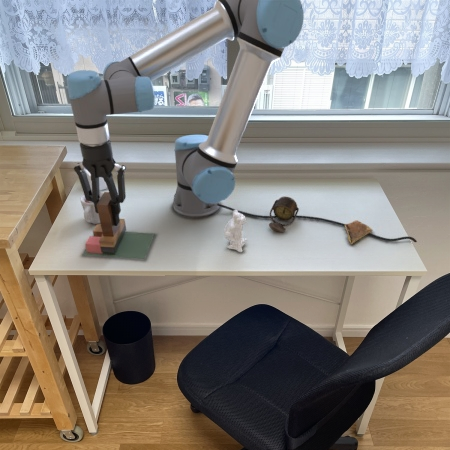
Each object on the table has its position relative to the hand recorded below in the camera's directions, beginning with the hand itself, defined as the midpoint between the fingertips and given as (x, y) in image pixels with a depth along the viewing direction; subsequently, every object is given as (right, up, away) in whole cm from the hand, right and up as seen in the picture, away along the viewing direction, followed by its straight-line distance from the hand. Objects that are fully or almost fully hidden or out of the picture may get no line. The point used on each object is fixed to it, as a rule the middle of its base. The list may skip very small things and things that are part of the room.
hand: (110, 222), depth 124 cm
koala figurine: (+36, -6, +5) cm, 37 cm away
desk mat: (+2, -6, +5) cm, 8 cm away
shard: (+73, -2, +10) cm, 74 cm away
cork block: (-4, -3, +8) cm, 9 cm away
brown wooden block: (0, -4, +4) cm, 6 cm away
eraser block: (-5, -7, +3) cm, 9 cm away
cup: (-8, +3, +15) cm, 17 cm away
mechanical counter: (+50, +3, +15) cm, 52 cm away
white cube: (-13, +18, +33) cm, 40 cm away
